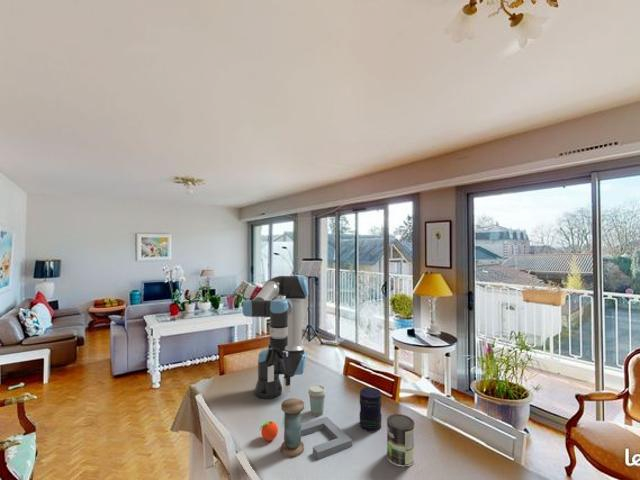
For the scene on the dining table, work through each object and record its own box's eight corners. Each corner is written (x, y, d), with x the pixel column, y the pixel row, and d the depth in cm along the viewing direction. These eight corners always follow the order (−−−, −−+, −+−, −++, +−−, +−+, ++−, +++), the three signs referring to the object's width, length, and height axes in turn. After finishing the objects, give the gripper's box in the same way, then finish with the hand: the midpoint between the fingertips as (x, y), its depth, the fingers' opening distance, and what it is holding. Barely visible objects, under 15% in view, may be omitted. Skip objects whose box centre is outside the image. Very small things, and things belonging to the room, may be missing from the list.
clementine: (261, 446, 126) (261, 429, 126) (256, 437, 132) (256, 420, 132) (280, 441, 130) (280, 423, 130) (274, 432, 136) (274, 415, 136)
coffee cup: (324, 418, 147) (324, 393, 147) (306, 416, 148) (306, 391, 149) (327, 409, 155) (327, 385, 155) (310, 407, 157) (310, 383, 157)
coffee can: (391, 468, 114) (391, 429, 114) (383, 450, 124) (383, 414, 125) (418, 466, 115) (418, 428, 115) (408, 448, 125) (408, 413, 125)
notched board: (295, 432, 136) (295, 426, 136) (326, 422, 144) (326, 416, 144) (317, 459, 119) (317, 452, 119) (352, 446, 127) (352, 439, 127)
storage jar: (383, 421, 144) (383, 389, 145) (379, 433, 135) (379, 398, 136) (361, 417, 148) (361, 386, 148) (357, 429, 138) (357, 395, 139)
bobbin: (277, 446, 126) (277, 401, 126) (297, 440, 130) (297, 396, 131) (286, 459, 118) (286, 411, 119) (307, 452, 123) (307, 406, 123)
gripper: (257, 331, 140) (257, 379, 140) (286, 345, 120) (286, 400, 120) (272, 328, 145) (272, 375, 144) (302, 341, 125) (302, 395, 124)
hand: (278, 386), depth 132 cm, fingers open, 13 cm apart
